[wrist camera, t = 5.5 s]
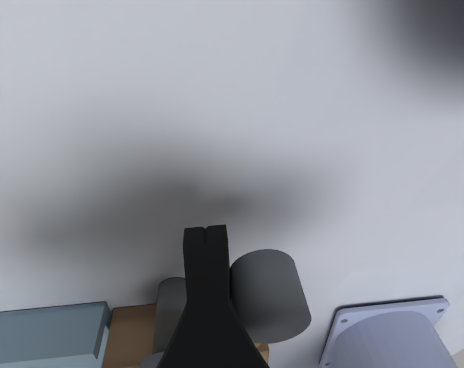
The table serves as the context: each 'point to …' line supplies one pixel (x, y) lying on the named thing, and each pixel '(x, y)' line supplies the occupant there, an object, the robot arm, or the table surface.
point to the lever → (264, 299)
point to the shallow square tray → (55, 336)
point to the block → (148, 327)
